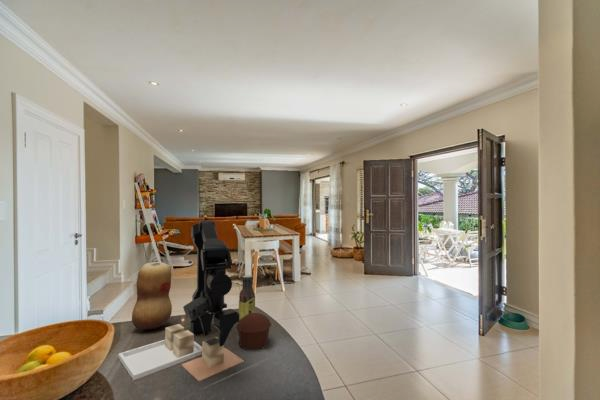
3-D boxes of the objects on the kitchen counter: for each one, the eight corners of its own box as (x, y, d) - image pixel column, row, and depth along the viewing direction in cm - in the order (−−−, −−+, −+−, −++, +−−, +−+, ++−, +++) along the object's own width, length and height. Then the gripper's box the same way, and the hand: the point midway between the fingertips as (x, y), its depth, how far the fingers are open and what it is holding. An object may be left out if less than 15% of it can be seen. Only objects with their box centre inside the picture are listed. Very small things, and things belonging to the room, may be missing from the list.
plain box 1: (178, 341, 96) (179, 323, 96) (184, 346, 93) (184, 327, 93) (164, 346, 93) (165, 327, 93) (170, 350, 90) (170, 331, 90)
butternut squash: (152, 338, 100) (153, 267, 101) (122, 333, 104) (124, 265, 104) (179, 323, 113) (180, 260, 114) (152, 319, 117) (154, 259, 118)
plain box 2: (187, 348, 91) (187, 329, 92) (193, 353, 88) (193, 334, 88) (173, 353, 88) (173, 334, 88) (179, 359, 85) (179, 338, 85)
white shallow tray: (183, 338, 100) (184, 333, 100) (205, 355, 88) (205, 349, 89) (118, 359, 86) (118, 353, 86) (133, 382, 74) (133, 375, 74)
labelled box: (216, 356, 86) (216, 336, 86) (223, 362, 83) (223, 341, 83) (202, 362, 83) (202, 341, 83) (209, 368, 80) (209, 346, 80)
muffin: (240, 356, 88) (240, 323, 88) (232, 341, 98) (233, 312, 98) (276, 348, 93) (276, 317, 93) (265, 334, 103) (265, 307, 103)
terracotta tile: (224, 350, 92) (224, 347, 92) (243, 363, 84) (243, 360, 84) (181, 367, 82) (181, 364, 82) (198, 383, 74) (198, 380, 74)
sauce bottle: (251, 332, 105) (251, 278, 106) (235, 330, 106) (236, 277, 107) (257, 325, 112) (257, 274, 112) (242, 324, 113) (243, 274, 114)
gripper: (174, 286, 84) (173, 339, 84) (203, 300, 71) (202, 363, 71) (209, 279, 92) (208, 328, 92) (240, 291, 79) (240, 347, 79)
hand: (213, 340), depth 83 cm, fingers open, 9 cm apart
